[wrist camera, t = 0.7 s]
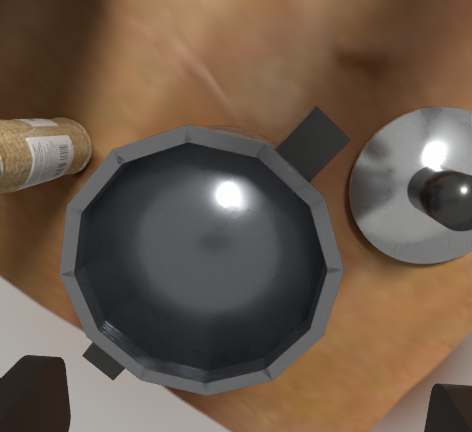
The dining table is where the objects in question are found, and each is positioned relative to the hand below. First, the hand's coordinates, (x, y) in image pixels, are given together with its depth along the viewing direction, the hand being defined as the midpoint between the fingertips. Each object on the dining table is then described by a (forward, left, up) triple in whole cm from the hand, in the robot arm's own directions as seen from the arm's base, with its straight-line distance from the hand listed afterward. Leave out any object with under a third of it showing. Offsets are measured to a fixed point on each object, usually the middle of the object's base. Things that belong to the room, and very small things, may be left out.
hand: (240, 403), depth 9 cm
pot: (+4, -1, -24) cm, 24 cm away
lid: (-9, +9, -24) cm, 27 cm away
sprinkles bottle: (+8, -14, -24) cm, 28 cm away
